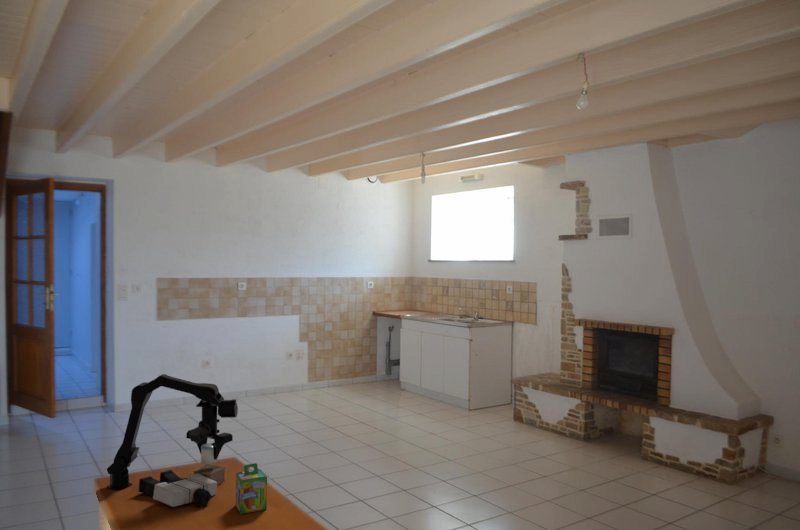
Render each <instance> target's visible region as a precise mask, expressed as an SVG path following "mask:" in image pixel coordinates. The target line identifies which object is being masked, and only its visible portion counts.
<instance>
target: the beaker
mask: <svg viewBox="0 0 800 530" xmlns="http://www.w3.org/2000/svg"><path fill="white" fill-rule="evenodd" d="M211 443H212V442H209V443H208V442H207V444H204V445H202V446H201V454H200V463H201V464H203V465H207V464H210V465H213V464H215V463H217V462H218V457H219V456H218V457H217V459H216V460H214V450H213V446H212V445H211Z"/></svg>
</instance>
